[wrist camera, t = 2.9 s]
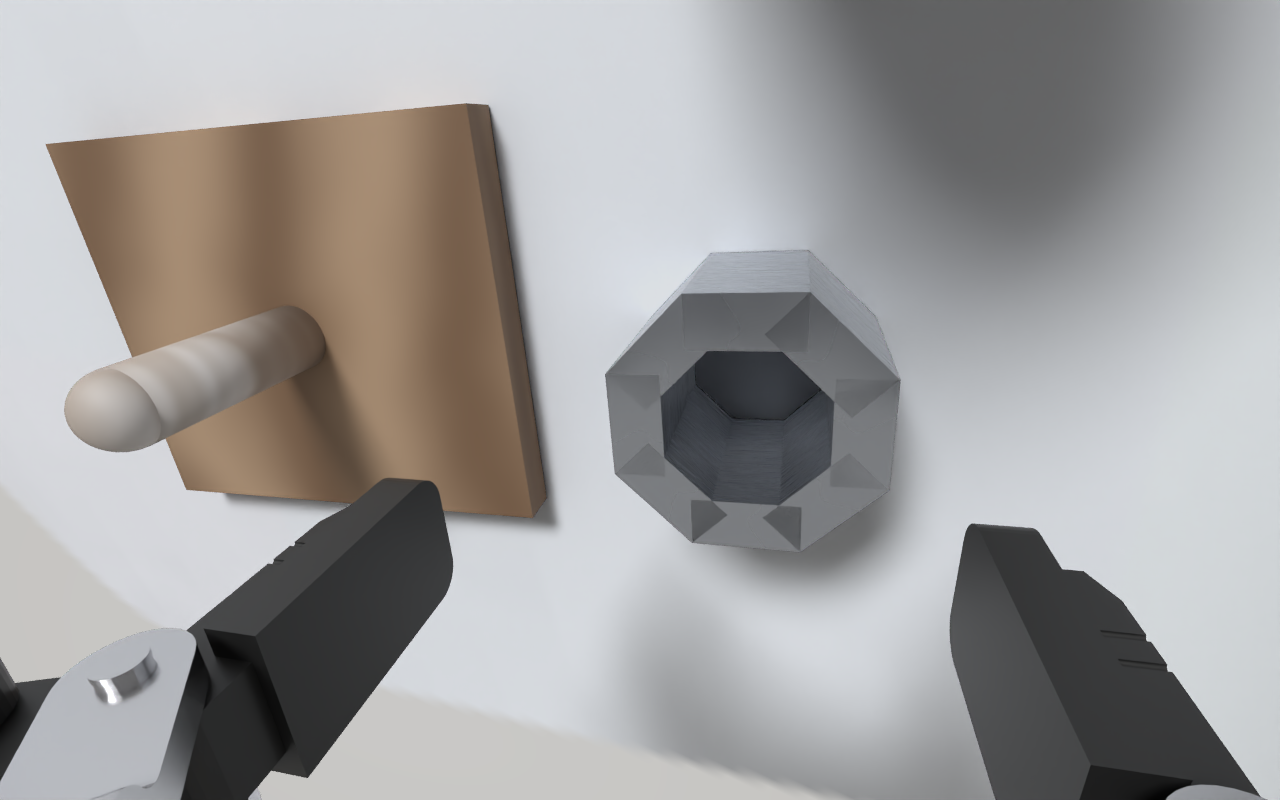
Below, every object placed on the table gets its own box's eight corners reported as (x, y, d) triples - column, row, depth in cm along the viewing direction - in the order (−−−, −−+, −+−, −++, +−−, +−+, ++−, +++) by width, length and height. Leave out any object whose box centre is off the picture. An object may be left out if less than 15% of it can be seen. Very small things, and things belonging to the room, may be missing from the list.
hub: (881, 247, 15) (909, 290, 11) (864, 461, 18) (882, 558, 14) (646, 254, 17) (597, 294, 13) (659, 451, 19) (620, 536, 15)
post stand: (488, 105, 16) (258, 88, 9) (546, 497, 21) (420, 679, 14) (86, 143, 20) (-298, 151, 13) (213, 473, 24) (-19, 609, 17)
